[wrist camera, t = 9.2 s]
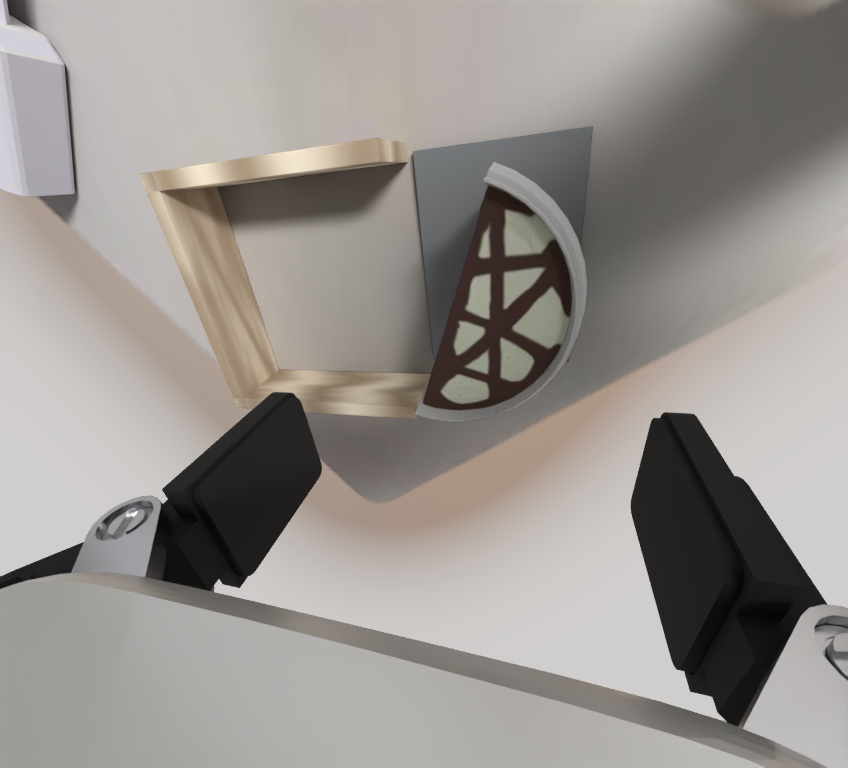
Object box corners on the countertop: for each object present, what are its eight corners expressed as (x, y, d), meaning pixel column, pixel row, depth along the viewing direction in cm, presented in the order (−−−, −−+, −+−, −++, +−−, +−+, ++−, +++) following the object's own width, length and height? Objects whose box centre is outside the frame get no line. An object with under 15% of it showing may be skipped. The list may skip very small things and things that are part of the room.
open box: (405, 143, 22) (377, 137, 18) (431, 384, 30) (415, 418, 26) (201, 172, 26) (139, 174, 22) (273, 378, 35) (237, 407, 30)
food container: (524, 371, 27) (522, 461, 19) (447, 345, 28) (412, 422, 20) (609, 193, 21) (662, 212, 12) (505, 162, 21) (488, 161, 13)
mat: (591, 127, 20) (592, 126, 19) (567, 359, 27) (568, 362, 26) (414, 151, 22) (412, 151, 22) (434, 357, 29) (433, 359, 29)
